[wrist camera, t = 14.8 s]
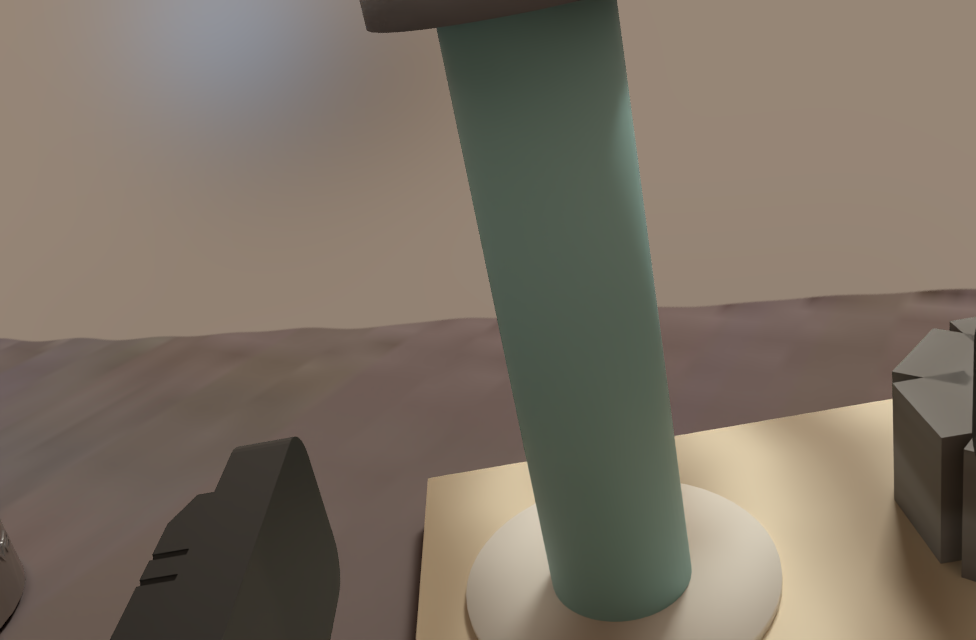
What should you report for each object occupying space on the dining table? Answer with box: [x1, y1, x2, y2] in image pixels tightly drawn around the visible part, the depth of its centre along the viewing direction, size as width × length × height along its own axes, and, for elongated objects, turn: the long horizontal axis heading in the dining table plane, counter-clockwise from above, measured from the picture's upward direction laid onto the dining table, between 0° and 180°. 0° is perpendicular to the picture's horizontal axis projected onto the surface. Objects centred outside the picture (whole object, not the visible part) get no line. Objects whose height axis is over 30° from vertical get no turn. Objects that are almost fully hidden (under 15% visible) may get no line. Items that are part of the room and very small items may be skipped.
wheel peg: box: [360, 0, 692, 622], centre depth 23 cm, size 7×7×17 cm
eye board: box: [416, 317, 976, 640], centre depth 26 cm, size 26×14×6 cm, turn 91°
